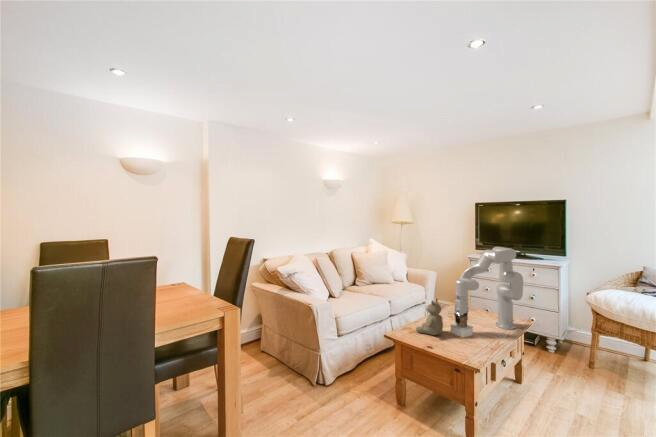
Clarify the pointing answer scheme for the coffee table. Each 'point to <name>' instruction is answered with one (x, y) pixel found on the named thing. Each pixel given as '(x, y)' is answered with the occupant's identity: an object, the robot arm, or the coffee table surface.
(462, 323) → the walnut block
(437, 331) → the grey cat statue
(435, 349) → the coffee table surface
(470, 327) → the pale grey box
